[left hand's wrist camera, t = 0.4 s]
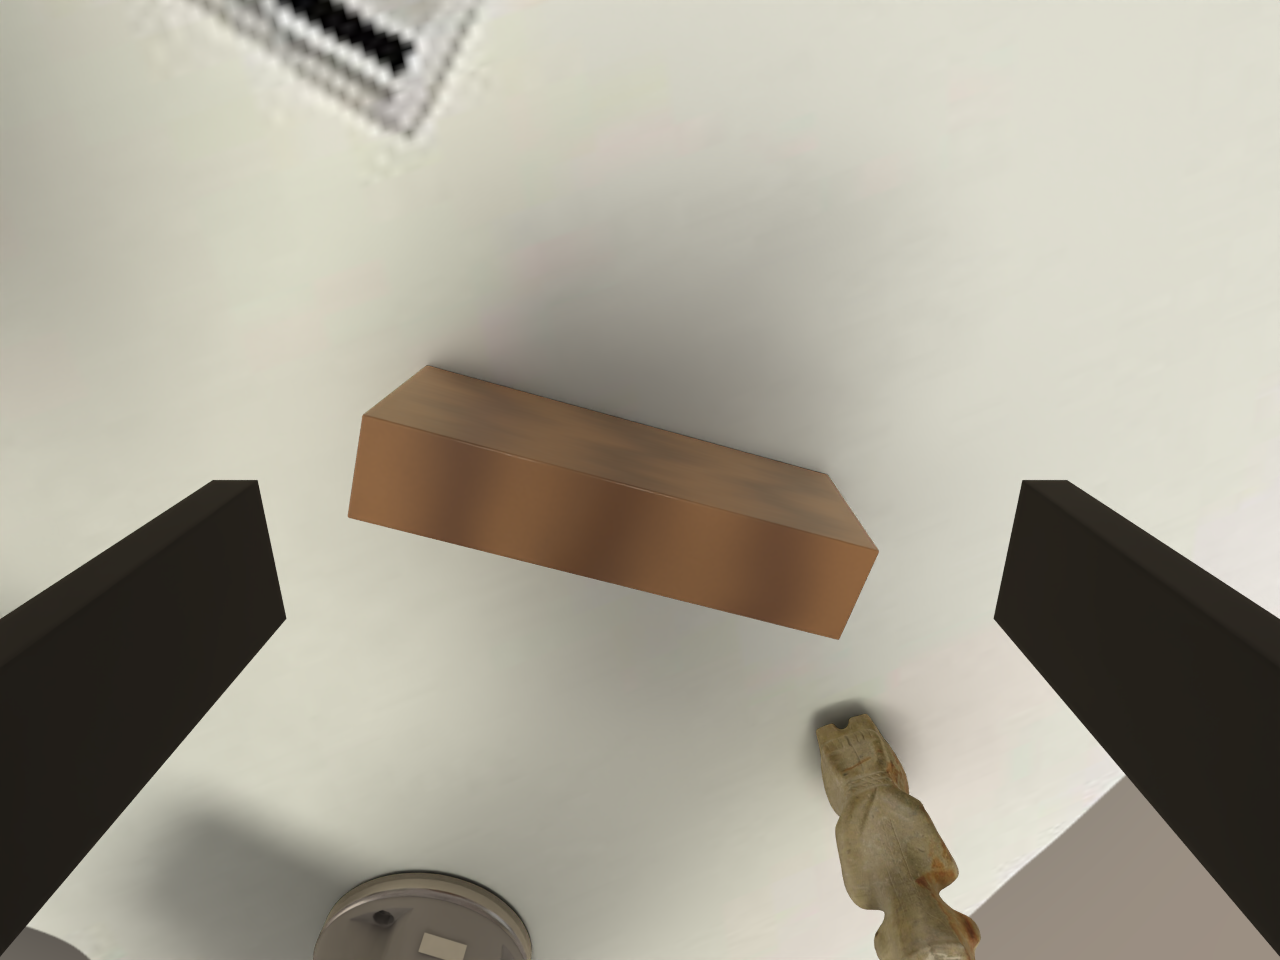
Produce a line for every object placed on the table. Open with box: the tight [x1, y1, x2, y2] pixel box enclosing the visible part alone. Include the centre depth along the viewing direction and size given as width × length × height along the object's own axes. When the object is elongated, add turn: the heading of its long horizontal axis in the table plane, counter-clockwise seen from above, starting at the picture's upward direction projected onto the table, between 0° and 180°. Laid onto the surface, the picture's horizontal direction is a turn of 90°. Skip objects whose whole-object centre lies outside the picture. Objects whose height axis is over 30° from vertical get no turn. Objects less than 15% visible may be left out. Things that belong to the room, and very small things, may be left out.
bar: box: [348, 365, 879, 640], centre depth 35 cm, size 22×5×9 cm, turn 74°
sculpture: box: [816, 714, 981, 960], centre depth 39 cm, size 6×7×15 cm
